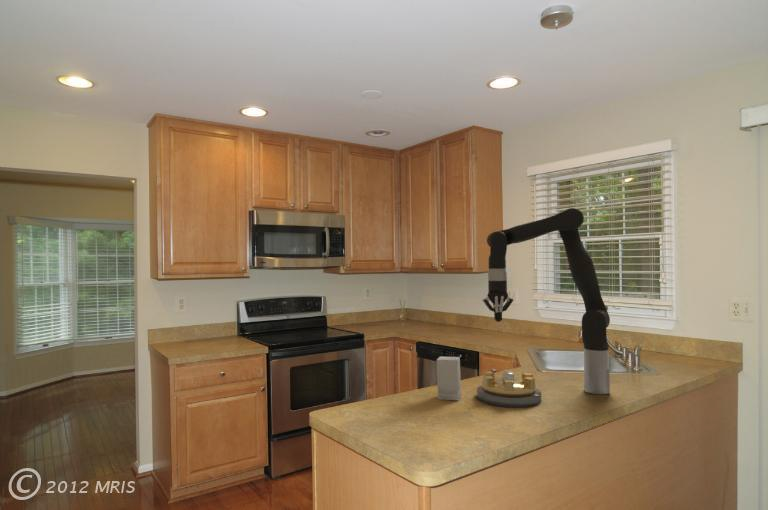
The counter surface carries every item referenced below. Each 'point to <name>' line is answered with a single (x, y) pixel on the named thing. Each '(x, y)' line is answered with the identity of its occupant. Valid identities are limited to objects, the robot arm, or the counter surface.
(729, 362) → the counter surface
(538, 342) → the counter surface
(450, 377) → the skincare box
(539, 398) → the housing
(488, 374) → the brass lugged disc
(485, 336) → the counter surface
